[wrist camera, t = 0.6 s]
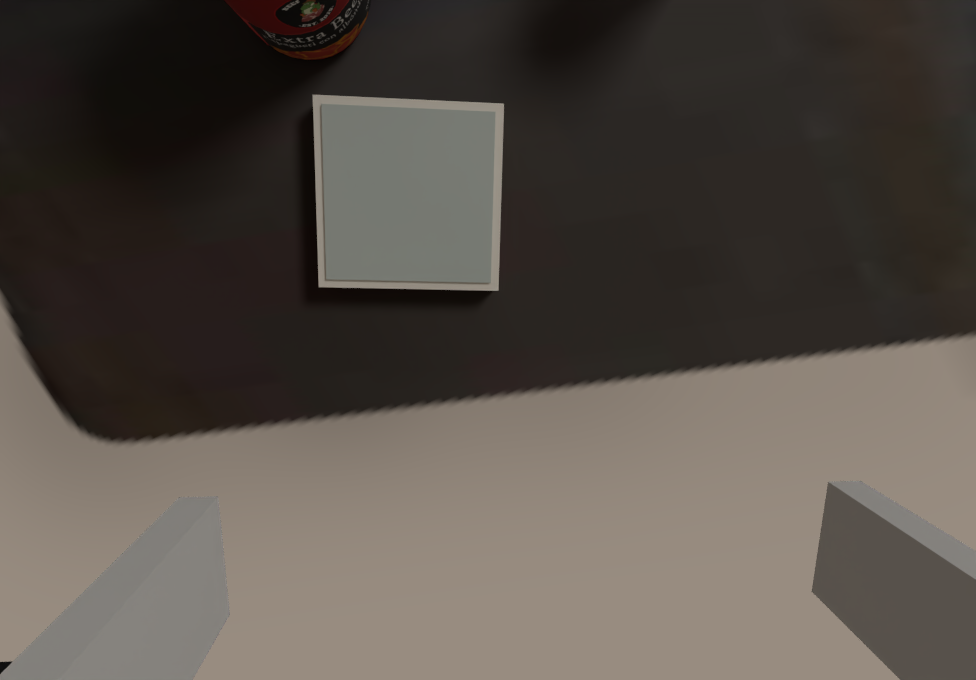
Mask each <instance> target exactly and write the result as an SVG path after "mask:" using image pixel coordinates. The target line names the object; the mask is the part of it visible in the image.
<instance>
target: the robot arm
mask: <svg viewBox="0 0 976 680" xmlns="http://www.w3.org/2000/svg"><path fill="white" fill-rule="evenodd" d="M812 592H813V593H814V594H815V595H816V596H817V597H818V598H819V599H820V600H821V601H822V602H823V603H824V604H825V605H826V606H827V607H828V608H829V609H830V610H831V611H832V612H833V613H834V614H835V615H836V616H837V617H838V618H839V619H840V620H841V621H842V622H843V623H844V624H845V625H846V626H847V627H848V628H849V629H850V630H851V631H852V632H853V633H854V634H855V635H856V636H857V637H858V638H859V639H860V640H861V641H862V642H863V643H864V644H865V645H866V646H867V647H868V648H869V649H870V650H871V651H872V652H873V653H874V654H875V655H876V656H877V657H878V658H879V659H880V660H881V661H882V662H883V663H884V664H885V665H886V666H887V667H888V668H889V669H890V670H891V671H892V672H893V673H894V674H895V675H896V676H897V677H898V678H899V679H900V680H976V551H975V550H973V549H972V548H970V547H968V546H967V545H965V544H963V543H962V542H960V541H959V540H957V539H955V538H954V537H952V536H950V535H949V534H947V533H945V532H944V531H942V530H940V529H939V528H937V527H935V526H934V525H932V524H931V523H929V522H927V521H926V520H924V519H922V518H921V517H919V516H918V515H916V514H914V513H913V512H911V511H909V510H908V509H906V508H904V507H903V506H901V505H899V504H898V503H896V502H894V501H893V500H891V499H890V498H888V497H886V496H885V495H883V494H881V493H879V492H878V491H876V490H875V489H873V488H871V487H870V486H868V485H866V484H865V483H863V482H862V481H841V482H828V487H827V494H826V500H825V507H824V513H823V520H822V527H821V533H820V540H819V547H818V554H817V560H816V567H815V574H814V580H813V588H812ZM229 615H230V612H229V602H228V591H227V581H226V572H225V562H224V551H223V541H222V530H221V520H220V511H219V500H218V496H216V497H179V498H178V499H177V500H176V501H175V502H174V503H173V504H172V505H171V506H170V507H169V508H168V509H167V510H166V511H165V512H164V513H163V514H162V515H161V516H160V517H159V518H158V519H157V520H156V521H155V522H154V523H153V524H152V525H151V526H150V527H149V528H148V529H147V530H146V531H145V532H144V533H143V534H142V535H141V536H140V537H139V538H138V539H137V540H136V541H135V542H134V543H133V544H132V545H131V546H130V547H129V548H127V549H126V551H124V553H122V554H121V555H120V557H118V558H117V559H116V560H115V561H114V562H113V563H112V564H111V565H110V566H109V567H108V568H107V569H106V570H105V571H104V572H103V573H102V574H101V575H100V576H99V577H98V578H97V579H96V580H95V581H94V582H93V583H92V584H91V585H90V586H89V587H88V588H87V589H86V590H85V591H84V592H83V593H82V594H81V595H80V596H79V597H78V598H77V599H76V600H75V601H74V602H73V603H72V604H71V605H70V606H69V607H68V608H67V609H66V610H65V611H64V612H63V613H62V614H61V615H60V616H59V617H58V618H57V619H56V620H55V621H54V622H53V623H52V624H50V626H49V627H47V629H45V631H43V632H42V633H41V634H40V636H38V637H37V638H36V639H35V640H34V641H33V642H32V643H31V644H30V645H29V646H28V647H27V648H26V649H25V650H24V651H23V652H22V653H21V654H20V655H19V656H18V657H17V658H16V659H15V660H14V661H13V662H0V680H193V678H194V676H195V674H196V673H197V671H198V669H199V667H200V666H201V664H202V662H203V660H204V659H205V657H206V655H207V653H208V652H209V650H210V648H211V646H212V645H213V643H214V641H215V639H216V638H217V636H218V634H219V632H220V630H221V629H222V627H223V625H224V624H225V622H226V620H227V618H228V617H229Z"/></svg>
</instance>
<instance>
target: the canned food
mask: <svg viewBox="0 0 976 680" xmlns="http://www.w3.org/2000/svg"><path fill="white" fill-rule="evenodd" d="M224 1H225V2H226V3H227V4H228V5H229V6H230V7H231V8H232V9H233V10H234V11H235V12H236V13H237V14H238V15H239V16H240V17H241V19H242V20H243V21H244V22H245V23H246V24H247V25H248V26H249V27H250V28H251V29H252V30H253V31H254V32H255V33H256V34H257V35H258V36H259V37H260V38H261V39H262V40H263V41H264V42H265V43H266V44H267V45H269V46H271V47H272V48H274V49H275V50H277V51H278V52H280V53H283V54H285V55H288V56H290V57H294V58H299V59H305V60H315V59H324V58H328V57H331V56H334V55H336V54H338V53H339V52H341V51H343V50H344V49H345V48H347V47H348V46H349V45H350V44H351V43H352V42H353V41H354V40H355V38H356V37H357V36H358V34H359V33H360V31H361V29H362V27H363V25H364V23H365V21H366V18H367V15H368V11H369V7H370V2H371V0H224Z"/></svg>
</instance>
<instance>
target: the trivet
mask: <svg viewBox="0 0 976 680" xmlns="http://www.w3.org/2000/svg"><path fill="white" fill-rule="evenodd" d="M313 119H314V151H315V184H316V216H317V248H318V280H319V287H334V288H383V289H433V290H482V291H498V284H499V251H500V219H501V186H502V153H503V120H504V104H498V103H477V102H456V101H435V100H414V99H393V98H371V97H350V96H329V95H313Z"/></svg>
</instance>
